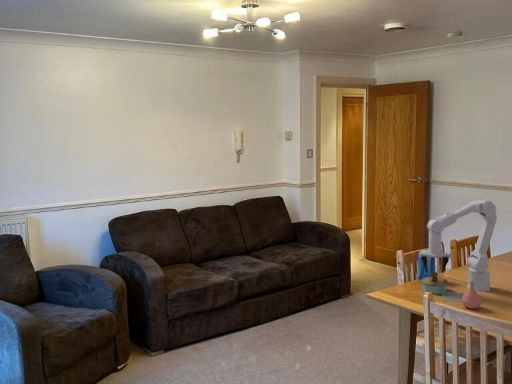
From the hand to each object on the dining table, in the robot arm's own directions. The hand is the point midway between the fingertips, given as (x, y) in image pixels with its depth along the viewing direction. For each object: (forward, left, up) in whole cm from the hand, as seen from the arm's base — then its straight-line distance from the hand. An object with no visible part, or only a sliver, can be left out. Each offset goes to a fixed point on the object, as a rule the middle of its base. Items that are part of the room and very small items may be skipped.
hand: (434, 271), depth 243 cm
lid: (0, 0, -5) cm, 5 cm away
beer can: (+3, -15, -10) cm, 18 cm away
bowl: (0, 0, -10) cm, 10 cm away
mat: (-10, +8, -10) cm, 16 cm away
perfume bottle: (-14, +21, -10) cm, 27 cm away
